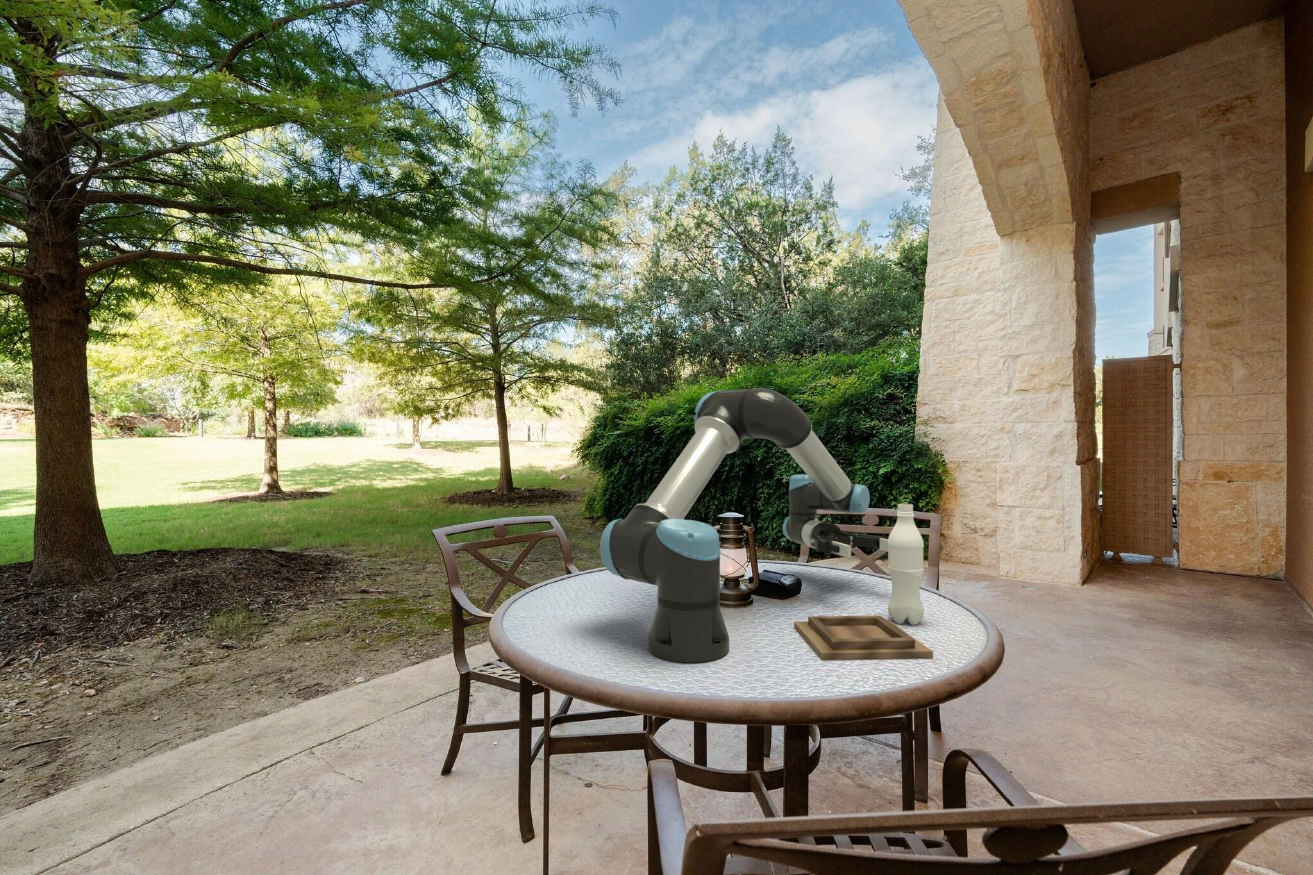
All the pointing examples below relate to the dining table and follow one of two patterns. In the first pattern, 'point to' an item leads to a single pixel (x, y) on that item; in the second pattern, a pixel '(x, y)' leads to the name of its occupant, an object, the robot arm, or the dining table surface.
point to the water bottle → (905, 568)
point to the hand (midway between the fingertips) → (875, 550)
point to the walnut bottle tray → (859, 638)
